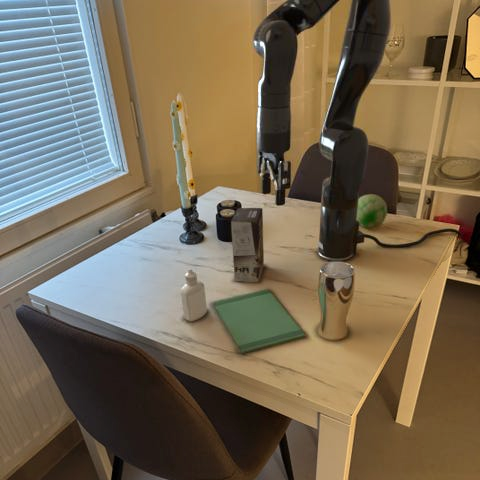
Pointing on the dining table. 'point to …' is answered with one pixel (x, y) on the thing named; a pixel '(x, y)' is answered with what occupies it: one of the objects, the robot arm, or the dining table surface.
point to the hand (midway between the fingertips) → (272, 199)
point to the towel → (257, 320)
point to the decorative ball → (371, 211)
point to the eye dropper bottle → (193, 297)
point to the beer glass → (335, 298)
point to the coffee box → (247, 244)
